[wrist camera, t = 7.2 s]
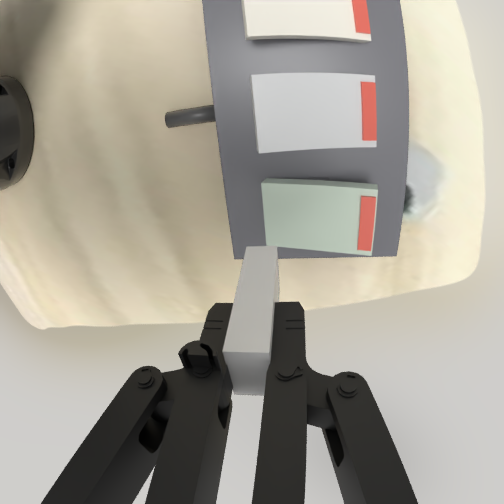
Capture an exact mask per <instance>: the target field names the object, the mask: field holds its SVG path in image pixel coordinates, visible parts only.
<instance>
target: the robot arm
mask: <svg viewBox="0 0 504 504" xmlns="http://www.w3.org/2000/svg"><path fill="white" fill-rule="evenodd" d="M32 148H33V118H32V112H31V107H30V103H29V100H28V97H27V95H26V93H25V91H24V89H23V87H22V86H21V85H20V83H19V82H18V81H17V80H15V79H14V78H12V77H9V76H1V77H0V191H1V190H4V189H6V188H7V187H9V186H11V185H13V184H14V183H16V182H18V181H19V180H20V179H21V178H22V176H23V175H24V173H25V172H26V170H27V167H28V165H29V162H30V158H31V154H32ZM279 291H280V288H279V270H278V253H277V246H249V247H246V251H245V255H244V260H243V264H242V268H241V273H240V277H239V281H238V286H237V290H236V294H235V299H234V303H215V304H214V306H213V307H212V308H211V309H210V310H209V311H208V315H207V318H206V322H205V324H204V329H203V331H202V334H201V337H200V340H199V341H192V342H190V343H187V344H186V345H185V346H183V347H182V348H181V350H180V351H179V353H178V355H179V357H180V359H181V361H182V364H183V366H184V368H182V369H179V370H175V371H169V372H164V373H161V372H160V370H159V369H157V368H156V367H153V366H144V367H141V368H139V369H137V370H135V371H134V372H133V373H132V374H131V376H130V377H129V378H128V380H127V381H126V383H125V384H124V385H123V387H122V388H121V389H120V391H119V392H118V393H117V395H116V396H115V398H114V399H113V400H112V402H111V403H110V405H109V406H108V407H107V409H106V410H105V412H104V413H103V414H102V416H101V417H100V419H99V420H98V421H97V423H96V424H95V426H94V427H93V428H92V430H91V431H90V433H89V434H88V436H87V437H86V438H85V440H84V441H83V443H82V444H81V445H80V447H79V448H78V450H77V451H76V453H75V454H74V456H73V457H72V458H71V460H70V461H69V463H68V464H67V466H66V467H65V469H64V470H63V472H62V473H61V474H60V476H59V477H58V479H57V480H56V482H55V484H54V485H53V486H52V488H51V489H50V491H49V492H48V494H47V495H46V497H45V498H44V500H43V501H42V503H41V504H132V503H133V501H134V500H135V498H136V496H137V495H138V493H139V491H140V490H141V488H142V486H143V484H144V483H145V481H146V480H147V478H148V476H149V475H150V473H151V471H152V470H153V468H154V466H155V469H154V472H153V476H152V480H151V483H150V487H149V491H148V494H147V498H146V502H145V504H216V500H217V493H218V487H219V482H220V477H221V471H222V465H223V459H224V453H225V447H226V442H227V435H228V430H229V423H230V418H231V412H232V400H231V394H232V389H233V392H234V394H237V395H261V396H262V395H263V396H264V404H263V412H262V422H261V431H260V440H259V449H258V457H257V466H256V474H255V482H254V490H253V498H252V504H304V499H305V477H306V444H307V442H306V441H307V424H309V425H313V426H316V427H320V428H322V431H323V434H324V438H325V441H326V444H327V448H328V451H329V454H330V457H331V461H332V463H333V467H334V470H335V473H336V477H337V480H338V484H339V487H340V490H341V494H342V497H343V500H344V504H418V502H417V499H416V497H415V494H414V492H413V490H412V486H411V484H410V481H409V479H408V476H407V474H406V471H405V469H404V466H403V464H402V461H401V459H400V457H399V455H398V452H397V450H396V447H395V445H394V442H393V440H392V438H391V435H390V433H389V431H388V428H387V426H386V424H385V422H384V419H383V417H382V415H381V412H380V410H379V408H378V406H377V403H376V401H375V399H374V397H373V395H372V392H371V390H370V388H369V386H368V384H367V382H366V380H365V379H364V378H363V377H362V376H360V375H359V374H357V373H354V372H341V373H339V374H337V375H335V376H334V377H331V376H327V375H322V374H320V373H317V372H315V371H314V370H312V369H311V368H310V367H309V365H308V363H307V361H306V350H305V322H304V321H305V320H304V309H303V308H302V306H301V304H300V303H299V302H279Z"/></svg>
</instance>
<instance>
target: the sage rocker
mask: <svg viewBox="0 0 504 504" xmlns="http://www.w3.org/2000/svg"><path fill="white" fill-rule="evenodd" d="M261 188H262V199H263V211H264V223H265V235H266V246H277V247H287V248H297V249H307V250H317V251H327V252H337V253H347V254H357V255H367V256H372V249H373V240H374V231H375V221H376V210H377V197H378V186H377V184H368V183H356V182H342V181H326V180H307V179H280V178H266V179H265V180H264V181H263V182H262V183H261Z"/></svg>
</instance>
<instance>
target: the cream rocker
mask: <svg viewBox="0 0 504 504" xmlns="http://www.w3.org/2000/svg"><path fill="white" fill-rule="evenodd" d="M241 3H242V11H243V20H244V29H245V38H246V40H256V39H323V40H337V41H349V42H358V43H366V42H370V41H371V32H370V23H369V16H368V9H367V2H366V0H241Z"/></svg>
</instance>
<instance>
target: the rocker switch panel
mask: <svg viewBox="0 0 504 504" xmlns="http://www.w3.org/2000/svg"><path fill="white" fill-rule="evenodd" d="M366 2H367V9H368V16H369V23H370V32H371V41H370V42H366V43H358V42H349V41H337V40H323V39H256V40H246V38H245V29H244V20H243V11H242V3H241V0H202V3H203V13H204V22H205V32H206V41H207V50H208V59H209V68H210V77H211V85H212V94H213V102H214V105H210V106H203V107H197V108H190V109H184V110H178V111H173V112H167V113H166V115H165V122H166V125H167V127H168V128H171V127H177V126H184V125H190V124H197V123H204V122H212V121H216V127H217V135H218V142H219V150H220V158H221V166H222V173H223V181H224V188H225V195H226V203H227V210H228V217H229V224H230V231H231V238H232V245H233V252H234V259H244V255H245V251H246V247H249V246H266V235H265V223H264V211H263V199H262V188H261V183H262V182H263V181H264V180H265V179H266V178H280V179H307V180H326V181H342V182H356V183H368V184H377V186H378V197H377V210H376V221H375V231H374V240H373V249H372V256H367V255H357V254H347V253H337V252H327V251H317V250H307V249H297V248H287V247H277V253H278V259H282V258H336V257H383V256H397V250H398V244H399V237H400V231H401V223H402V216H403V207H404V198H405V188H406V177H407V162H408V142H409V88H408V68H407V54H406V43H405V34H404V26H403V19H402V12H401V6H400V0H366ZM272 73H347V74H362V75H374V76H375V85H376V114H377V143H376V147H356V148H327V149H309V150H294V151H281V152H270V153H258V151H257V145H256V134H255V124H254V114H253V104H252V94H251V84H250V76H251V75H257V74H272Z"/></svg>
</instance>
